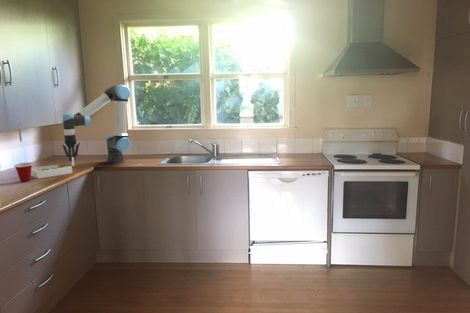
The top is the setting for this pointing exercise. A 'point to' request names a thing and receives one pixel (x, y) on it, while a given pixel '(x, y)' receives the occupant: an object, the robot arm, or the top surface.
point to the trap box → (50, 171)
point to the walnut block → (62, 165)
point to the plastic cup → (24, 171)
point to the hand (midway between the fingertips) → (72, 165)
